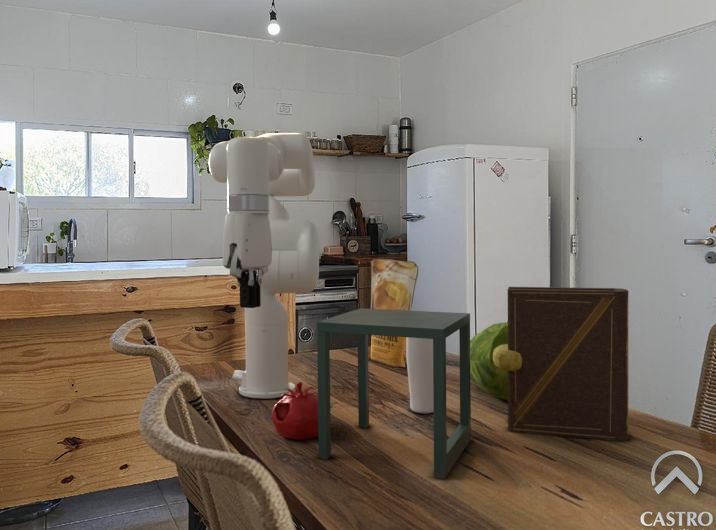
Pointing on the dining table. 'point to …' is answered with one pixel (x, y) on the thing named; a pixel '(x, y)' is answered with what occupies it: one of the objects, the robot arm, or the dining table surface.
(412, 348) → the white paper cup
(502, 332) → the lettuce
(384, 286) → the pancake mix bag
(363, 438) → the dining table surface
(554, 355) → the book
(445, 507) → the dining table surface
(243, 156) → the robot arm
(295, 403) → the pomegranate
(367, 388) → the bench
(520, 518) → the dining table surface
